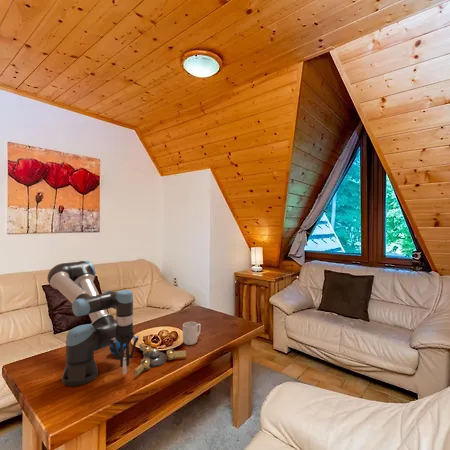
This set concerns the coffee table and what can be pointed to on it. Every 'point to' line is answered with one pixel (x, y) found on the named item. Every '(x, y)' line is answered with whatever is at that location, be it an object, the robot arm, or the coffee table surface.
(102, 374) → the coffee table surface
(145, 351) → the knob
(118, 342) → the ornament
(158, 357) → the tribrach plate
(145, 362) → the knob
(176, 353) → the knob
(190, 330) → the mug
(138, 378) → the coffee table surface
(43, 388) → the coffee table surface
